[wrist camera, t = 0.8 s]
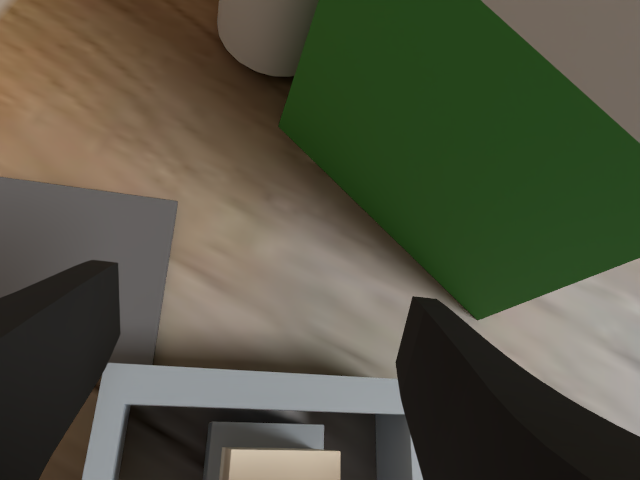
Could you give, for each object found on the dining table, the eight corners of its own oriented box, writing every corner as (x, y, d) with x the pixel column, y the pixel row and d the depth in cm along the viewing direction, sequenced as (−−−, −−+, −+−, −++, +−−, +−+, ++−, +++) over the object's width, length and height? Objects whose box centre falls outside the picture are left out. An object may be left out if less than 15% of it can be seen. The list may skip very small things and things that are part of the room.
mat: (152, 367, 23) (151, 366, 23) (-59, 355, 21) (-63, 353, 21) (177, 204, 27) (177, 201, 26) (-1, 180, 25) (-4, 176, 24)
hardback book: (531, 246, 33) (1203, -114, 11) (477, 320, 29) (1288, 6, 8) (349, 74, 34) (638, -537, 13) (278, 126, 31) (507, -587, 9)
